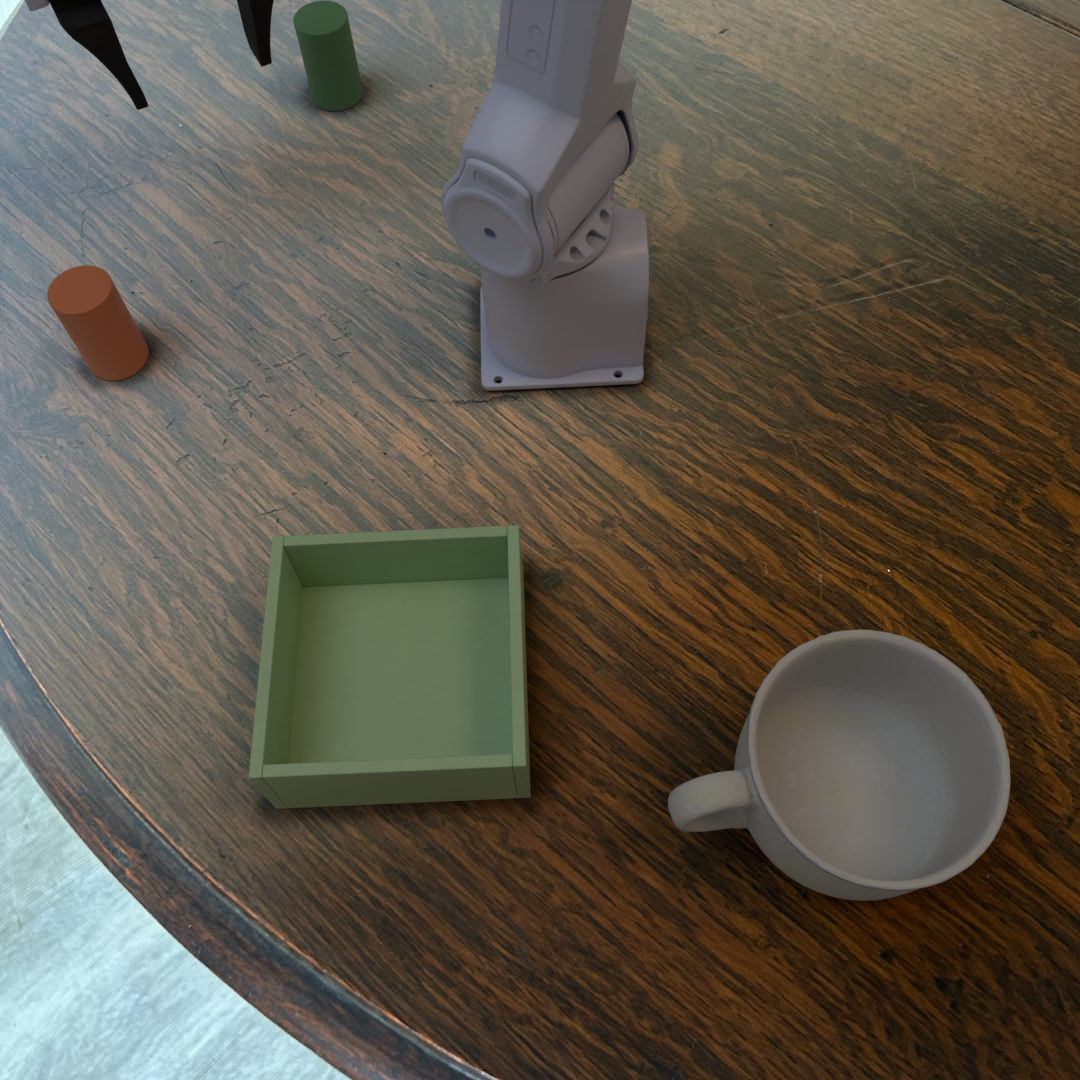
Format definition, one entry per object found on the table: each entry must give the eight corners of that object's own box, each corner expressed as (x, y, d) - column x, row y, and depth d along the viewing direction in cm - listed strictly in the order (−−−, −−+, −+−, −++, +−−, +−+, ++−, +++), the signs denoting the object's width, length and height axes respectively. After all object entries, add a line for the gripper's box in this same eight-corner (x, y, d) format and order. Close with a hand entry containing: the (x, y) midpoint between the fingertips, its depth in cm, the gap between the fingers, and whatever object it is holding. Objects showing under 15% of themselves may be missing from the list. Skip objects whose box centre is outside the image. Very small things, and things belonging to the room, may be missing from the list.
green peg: (364, 76, 78) (348, -2, 72) (361, 110, 76) (345, 33, 71) (314, 78, 78) (295, 1, 72) (310, 112, 76) (291, 35, 71)
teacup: (928, 690, 54) (980, 622, 47) (979, 918, 48) (1047, 880, 41) (647, 702, 54) (657, 636, 47) (667, 931, 48) (682, 895, 41)
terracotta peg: (152, 332, 66) (116, 263, 61) (144, 379, 65) (106, 312, 59) (94, 335, 66) (53, 266, 61) (84, 382, 65) (41, 315, 59)
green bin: (523, 571, 57) (519, 524, 53) (530, 798, 51) (526, 765, 47) (294, 582, 58) (271, 535, 53) (275, 809, 52) (247, 778, 47)
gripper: (228, -243, 55) (290, 1, 67) (-53, -163, 52) (62, 78, 64) (277, -179, 52) (333, 66, 64) (-19, -90, 49) (96, 150, 61)
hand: (200, 77), depth 64 cm, fingers open, 7 cm apart
